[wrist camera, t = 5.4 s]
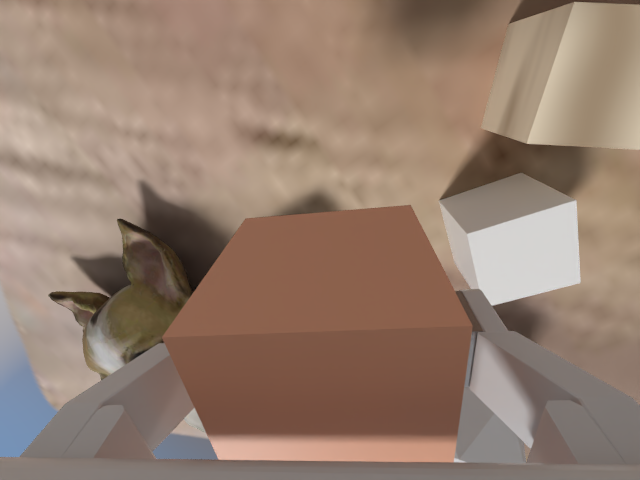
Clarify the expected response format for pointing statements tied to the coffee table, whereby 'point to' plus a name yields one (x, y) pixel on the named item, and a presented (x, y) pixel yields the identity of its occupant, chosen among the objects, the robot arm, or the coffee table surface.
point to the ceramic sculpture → (132, 306)
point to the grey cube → (513, 238)
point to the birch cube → (570, 78)
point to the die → (485, 435)
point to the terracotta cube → (326, 341)
